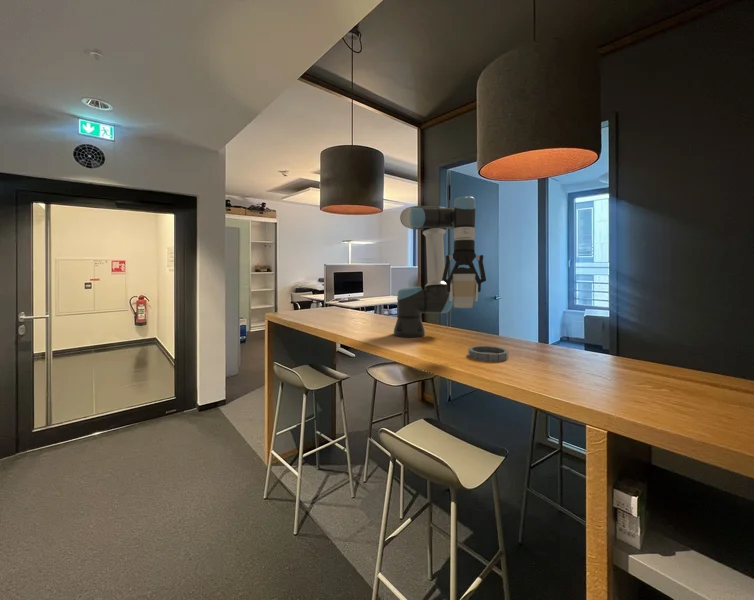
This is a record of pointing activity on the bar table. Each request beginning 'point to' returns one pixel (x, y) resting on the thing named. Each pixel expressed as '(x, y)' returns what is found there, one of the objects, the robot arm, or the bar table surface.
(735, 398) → the bar table surface
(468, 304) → the coffee cup
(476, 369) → the bar table surface
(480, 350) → the tray
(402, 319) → the robot arm
